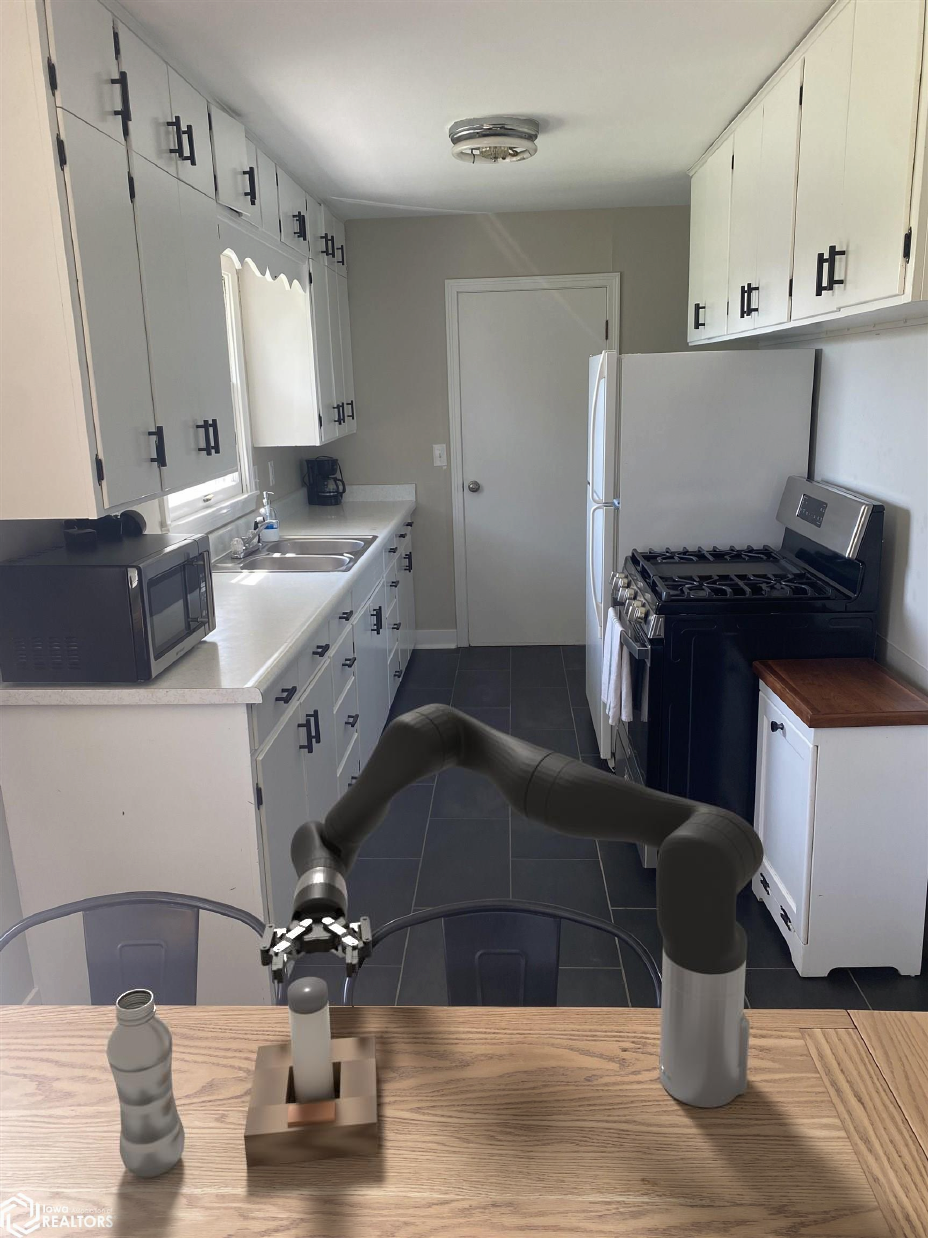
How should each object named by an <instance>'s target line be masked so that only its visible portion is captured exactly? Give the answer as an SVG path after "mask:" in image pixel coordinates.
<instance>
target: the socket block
mask: <svg viewBox="0 0 928 1238" xmlns="http://www.w3.org/2000/svg"><path fill="white" fill-rule="evenodd" d="M331 1050H332V1065H333V1080H334V1092H338V1091H339V1098H335V1099H331V1100H321V1101H311V1102H301V1103H296V1102H294V1103H292V1096H295V1086H294V1073H293V1060H292V1047H291V1042H290V1043H278V1044H270V1045H269V1044H268V1045H267V1044H266V1045H260V1046H259V1045H258V1046H257V1051H256V1058H255V1063H254V1064H255V1065H254V1070H253V1075H252V1082H251V1083H252V1084H251V1090H250V1096H249V1101H248V1107H247V1113H246V1118H245V1119H246V1121H245V1127H244V1134H243V1138H244V1140H243V1141H244V1150H245V1153H244V1154H245V1162H246V1163H245V1164H246V1168H251V1167H261V1166H271V1165H279V1164H280V1165H281V1164H290V1163H300V1162H308V1161H318V1160H320V1161H321V1160H329V1159H337V1158H347V1157H348V1158H349V1157H355V1156H356V1157H357V1156H365V1155H366V1156H369V1155H376V1154H379V1127H378V1125H379V1124H378V1123H379V1120H378V1118H379V1117H378V1076H377V1075H378V1074H377V1071H378V1070H377V1051H376V1050H377V1049H376V1035H366V1036H356V1037H355V1036H354V1037H345V1038H332V1039H331Z"/></svg>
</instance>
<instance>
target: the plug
mask: <svg viewBox="0 0 928 1238" xmlns="http://www.w3.org/2000/svg"><path fill="white" fill-rule="evenodd" d="M328 988H329V987H328V984H327V982H326V981H325V980H324V979H323V978H319V977H316V976H305V977H302V978H298V979H296V980H295V981H293V982H292V983H290V985H289V986H288V988H287V991H286V992H287V993H286V994H287V995H286V996H287V1006H288V1017H289V1019H288V1020H289V1032H290V1033H289V1034H290V1043H291V1047H292V1060H293V1073H294V1086H295V1095H294V1096H295V1103H301V1102H311V1101H321V1100H331V1099H336V1098H335V1096H336V1095H335V1091H334V1080H333V1065H332V1050H331V1040H332V1039H331V1038H332V1036H331V1035H332V1034H331V1022H330V1021H331V1019H330V1007H329V994H328V993H329V991H328Z"/></svg>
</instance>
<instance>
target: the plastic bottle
mask: <svg viewBox="0 0 928 1238" xmlns="http://www.w3.org/2000/svg"><path fill="white" fill-rule="evenodd" d="M115 1008H116V1009H115V1011H116V1013H115V1019H116V1022H117V1024H116V1026H115V1027H114V1028H113V1030H112V1032H111V1034H110V1035H109V1037H108V1040H107V1046H106V1050H105V1051H106V1052H105V1053H106V1056H107V1057H106V1058H107V1061H108V1064H109V1068H110V1070H111V1073H112V1076H113V1079H114V1082H115V1086H116V1091H117V1096H118V1102H119V1107H120V1108H119V1111H120V1113H119V1114H120V1134H119V1154H120V1157H121V1160H122V1163H123V1165H124V1168H125V1169H126V1170H127V1171H128V1172H130V1173H131V1174H133V1175H134V1176H136V1177H139V1178H154V1177H158V1176H161V1175H163V1174H165V1173H167V1172H168V1171H170V1170H171V1169H172V1168H173V1167H174V1166H176V1164H177V1162H178V1161H179V1160H180V1158H182V1154H183V1152H184V1149H185V1140H186V1139H185V1137H186V1135H185V1134H186V1133H185V1130H184V1129H185V1128H184V1126H183V1125H184V1124H183V1122H182V1119H181V1117H180V1115H179V1112H178V1107H177V1105H176V1098H175V1094H174V1088H173V1074H172V1062H173V1034H172V1032H171V1030H170V1028H169V1026H168V1025H167V1023H166V1022H164V1020H163V1019H161V1018H160V1017H159V1016H157V1014H156V1013H157V1006H156V1004H155V996H154V994H153V992H152V991H151V990H148V989H144V988H138V989H132V990H129V991H126V992H124V993H123V994H121V995H120V996H119V997H118V998H117V999H116V1002H115Z"/></svg>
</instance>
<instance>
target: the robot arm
mask: <svg viewBox="0 0 928 1238" xmlns="http://www.w3.org/2000/svg"><path fill="white" fill-rule="evenodd" d="M364 765H365V766H363V767H364V768H363V769H362V771H361V772H360V773H359V775H358V776H357V779H355V781H354V782H353V784H351V786H350V787H349V789H347V791H346V792H345V793H344V794H343V795H342V796H341V797H340V798H339V800H338V801H337V802H336V803H335V804H334V805H333V806H332V808H330V810H329V811H328V812H327V815H326V816H325V818H324V823H323V822H322V821H320V820H319V821H318V820H309V821H306V822H303V823H302V824H301V825H300V826H299V827H298V828H297V829H296V830H295V832H294V834H293V837H292V840H291V843H290V858H291V863H292V865H293V868H294V872H295V873H296V875H297V878H298V880H297V885H296V889H295V891H294V896H293V903H292V912H291V918H290V923H289V924H288V925H287V927H285V928H276V925H275V924H274V923H269V924H268V923H267V924H266V926H265V928H264V930H263V931H264V932H263V935H262V937H261V938H262V939H261V942H260V946H259V951H260V953H259V954H260V964H261V966H262V967H268V966H270V965H271V975H272V976H271V977H272V980H273V981H276V983H277V985H279V984H284V981H285V973H286V965H287V964H289V963H290V962H291V961H292V962H296V961H297V960H299V959H300V958H301V957H303V955H310V954H316V953H322V954H323V953H330V952H332V953H334V954H335V956H338V957H339V958H343V957H344V958H345V966H346V967H345V969H346V971H345V972H346V978H347V979H353V974H357V973H358V971H359V960H360V958H361V957H364V958H365V959H369V958H372V957H373V956H374V955H373V954H374V953H373V947H372V945H373V944H372V943H373V938H372V930H371V924H370V923H371V922H370V917H369V916H362V917H360V918H359V922H353V923H350V922H349V920H348V906H349V903H348V892H347V876H348V875H349V874H350V873H351V872H352V870H353V868H354V866H355V865H356V862H357V859H358V856H359V853H360V850H361V848H362V845H363V844H364V842H365V841H366V840H367V839H368V838H369V837H370V836H371V835H372V834H373V833H374V831H375V830H376V829H378V827H379V826H380V825H381V824H382V822H383V821H384V820H385V818H386V816H387V815H388V812H389V811H390V807H391V802H392V801H393V800H394V798H395V797H396V796H397V795H398V794H399V793H401V792H403V790H405V789H407V788H408V787H409V786H411V785H413V784H414V783H416V782H418V781H420V780H423V779H427V778H429V777H431V776H434V775H436V774H437V773H438V774H439V773H440V772H442V771H444V770H446V769H448V768H459V769H463V770H465V771H469V772H472V773H474V774H476V775H479V776H481V777H483V778H485V779H487V780H488V781H489V782H491V783H492V784H493V785H494V786H495V788H496V789H497V790H498V792H499V794H500V795H501V796H502V798H503V800H505V802H506V803H507V804H508V806H509V807H510V808H511V809H512V810H513V812H515V813H517V814H518V815H519V816H520V817H523V819H526V820H527V821H530V822H533V823H535V824H537V825H538V826H542V827H544V828H546V829H548V830H551V831H553V832H555V833H558V834H561V835H563V836H564V835H565V836H567V837H572V838H579V839H587V840H597V841H598V840H600V841H617V842H629V843H632V844H633V843H635V844H639V845H642V846H643V845H644V846H645V847H649V848H652V849H654V850H658V853H657V860H656V873H655V874H656V877H655V880H656V881H655V882H656V884H655V885H656V888H655V890H656V891H655V892H656V919H657V924H658V925H657V926H658V929H659V931H660V934H661V936H662V939H663V941H662V966H661V967H662V970H661V972H662V974H661V975H662V976H661V977H662V978H661V1002H660V1003H661V1005H660V1006H661V1007H660V1008H661V1009H660V1012H661V1013H660V1035H659V1036H660V1040H659V1041H660V1042H659V1050H660V1051H659V1062H658V1063H659V1079H660V1083H661V1085H662V1086H663V1088H664V1089H665V1090H666V1091H667V1092H668V1094H670V1095H671V1096H672V1097H673V1098H675V1099H676V1100H678V1101H680V1102H682V1103H684V1104H687V1105H689V1106H693V1107H699V1108H709V1109H710V1108H718V1107H721V1106H724V1105H727V1104H728V1103H731V1102H732V1101H733V1100H734V1099H735V1098H736V1097H737V1096H741V1095H746V1094H747V1086H748V1085H747V1083H748V1082H747V1081H748V1067H749V1066H748V1065H749V1064H748V1063H749V1050H750V1049H749V1048H750V1028H751V1027H750V1026H751V1023H750V1020H749V1019H748V1017H747V1015H746V1014H745V1012H744V1010H745V1009H744V1007H745V1005H744V1004H745V987H746V986H745V985H746V984H745V983H746V968H747V967H746V966H747V952H748V949H747V948H748V937H747V934H746V930H745V929H744V928H743V927H742V925H741V924H740V923H739V922H738V921H736V919H737V917H736V915H737V911H736V910H737V896H738V894H739V893H740V891H742V890H743V889H744V887H746V886H747V884H748V883H749V882H750V881H751V880H752V879H753V878H754V877H755V875H756V874H757V872H758V871H759V869H760V868H761V866H762V864H763V860H764V856H765V855H764V854H765V853H764V846H763V842H762V840H761V838H760V835H759V834H758V833H757V832H756V830H755V828H754V827H753V826H752V825H751V824H750V823H749V822H748V821H747V820H745V819H744V818H742V817H741V816H740V815H738V814H736V813H734V812H733V811H730V810H727V809H725V808H722V807H720V806H719V807H718V806H715V805H711V804H709V803H705V802H700V801H696V800H692V799H689V798H686V797H683V796H682V797H681V796H677V795H673V794H669V793H666V792H662V791H659V790H656V789H653V788H650V787H647V786H644V785H643V784H642V785H641V784H640V783H636V782H634V781H632V780H629V779H626V778H625V777H621V776H618V775H615V774H613V773H611V772H607V771H605V770H602V769H599V768H597V767H594V766H592V765H590V764H587V763H585V762H582V761H580V760H578V759H576V758H572V757H571V756H567V755H565V754H562V753H559V752H556V751H553V750H550V749H547V748H544V747H541V746H538V745H535V744H533V743H531V742H529V741H526V740H523V739H521V738H519V737H516V736H513V735H511V734H507V733H505V732H503V731H500V730H498V729H495V728H493V727H491V726H490V725H488V724H485V723H484V722H482V721H480V720H478V719H476V718H475V717H473V716H470V715H469V714H466V713H464V712H463V711H462V710H458V709H457V708H455V707H452V706H450V705H447V704H444V703H429V704H425V705H423V706H421V707H419V708H415V709H413V710H410V711H408V712H406V713H403V714H401V715H399V716H397V717H396V718H394V719H393V720H392V721H390V722H389V724H388V726H387V727H386V728H385V730H384V731H383V733H382V735H381V737H380V738H379V740H378V742H377V744H376V745H375V748H374V750H373V751H372V753H371V755H370V757H369V759H368V760H367V762H366V764H364ZM351 934H353V935H355V937H357V939H356V938H354V937H352V936H351ZM282 940H283V941H282Z"/></svg>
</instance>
